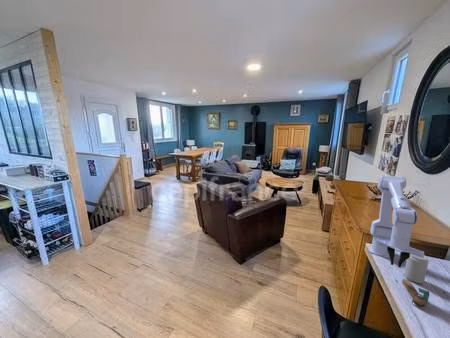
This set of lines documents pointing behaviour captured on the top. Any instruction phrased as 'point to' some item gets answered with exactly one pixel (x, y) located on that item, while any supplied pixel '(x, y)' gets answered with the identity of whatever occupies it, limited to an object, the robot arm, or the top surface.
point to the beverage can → (416, 268)
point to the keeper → (425, 294)
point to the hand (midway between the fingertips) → (395, 265)
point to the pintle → (415, 304)
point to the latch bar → (414, 293)
